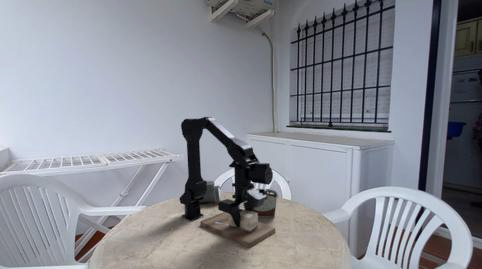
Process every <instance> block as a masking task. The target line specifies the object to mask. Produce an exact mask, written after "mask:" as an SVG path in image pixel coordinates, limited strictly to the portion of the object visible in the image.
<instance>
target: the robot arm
mask: <svg viewBox="0 0 482 269" xmlns="http://www.w3.org/2000/svg"><path fill="white" fill-rule="evenodd" d="M180 126H181V127H180V129H181V134H182V136H183V138H184V140H185V141H186V153H187V154H186V155H187V172H188V173H187V174H188V178H187V180H186V181H185V184H184V192H183V193H182V194H181V195H180V197H179V198H178V199H179V202H180V204H181V205H184V214H181V217H182V218H183V219H186V220H188V221H193V220H196V219H199V218H201V217H204V214H203V213H202V212H201V203H200V202H199V201H200V200H203V199H204V195H205V194H206V190H207V180H204V178H203V177H202V170H201V169H202V168H201V150H200V149H201V145H200V140H201V138H202V136H203V134H204V130H207V131H208V132H209V133H210V134H211V135H213V137H215V139H216V140H217V141H218V142H220V143H221V144H222V145H223V146H224V147H225V149H226V151H227V154H228V155H229V156H230V159H232V162H231V163H230V164H228V168H233V170H234V176H233V177H234V182H233V183H231V187H233V188H234V194H232V199H234V200H232V199H230V198H229V199H228V198H226V199H223V200H221V201H220V202H219V203H217V207H218V211H220V212H222V213H223V212H226V213H229V214H230V215H231V217H232V219H233V221H234V223H235V225H236V227H238V228H239V227H240V213H241V212H242V211H243V210H242V208H241V207H240V206H241V205H240V204H243V203H244V205H243V209H244V210H248V211H252V212H253V211H254V208H257V207H259V206H261V205H263V204H264V200H266V199H267V190H266V189H267V188H264V187H263V188H260V189H261V190H256V189H257V188H255V184H259V185H270V184H271V183H272V181H273V178H274V177H273V176H274V172H273V170H272V168H271V166H270V165H271V164H270V163H269V162H264V163H263V162H260V160H259V158H258V157H257V155H256V154H255V153H254V148H253V146H251V145H250V144H249V143H247V142H246V141H244V140H242V139H239V138H237V137H235V136H234V135H233V134H232V133H231V132H230V131H228V129H226V128H225V127H224V126H223V125H222V124H221V123H219V122H218V121H217V119H216V118H214V117H213V116H204V117H200V118H185V119H183V121H182V122H181V124H180ZM254 183H255V184H254Z"/></svg>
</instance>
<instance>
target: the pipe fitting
mask: <svg viewBox="0 0 482 269" xmlns="http://www.w3.org/2000/svg"><path fill="white" fill-rule="evenodd" d="M206 181H207V180H206ZM221 192H222V191H221V187H220V185H215V181H214V180H208V181H207V190H206V194H205V195H204V199H203V200H200V201H199V202H200V204H202V203H204V204H205V203H212V202H214V203H216V204H218V203H219V202H220V201H222V193H221Z"/></svg>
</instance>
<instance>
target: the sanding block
mask: <svg viewBox="0 0 482 269" xmlns="http://www.w3.org/2000/svg"><path fill="white" fill-rule="evenodd" d="M241 209H242V208H241ZM242 210H243V211H242V212H241V213H240V227H239V228H238V227H236V225H235V223H234V221H233V219H232V217H231V215H230V214H229V226H230V227H234V228H237V229H240V230H243V231H247V232H251V231H253V230H254V229H256V228H257V227H258V222H259V217H258V213H256V212H252V211H248V210H245V209H244V208H243V209H242Z"/></svg>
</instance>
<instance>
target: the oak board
mask: <svg viewBox="0 0 482 269" xmlns="http://www.w3.org/2000/svg"><path fill="white" fill-rule="evenodd" d="M199 224H200V226H201V227H203V228H205V229H208V230H210V231H212V232H214V233H216V234H218V235H220V236H222V237H225V238H227V239H228V240H231V241H232V242H236V243H237V244H240V245H242V246H243V247H245V248H248V249H249V248H252V247H253V246H256V245H257V244H259V243H260V242H262V241H263V240H265V239H267V238H268V237H269V236H271V235H272V234H275V233H276V227H274V226H270V225H269V224H265V223H263V222H260V221H258V227H257V228H256V229H254V230H253V231H251V232H247V231H243V230H240V229H237V228H234V227H230V226H229V213H226V212H223V211H222V212H220V213H218V214H215V215H213V216H210V217H207V218H205V219H203V220H201V221H200V222H199Z"/></svg>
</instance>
